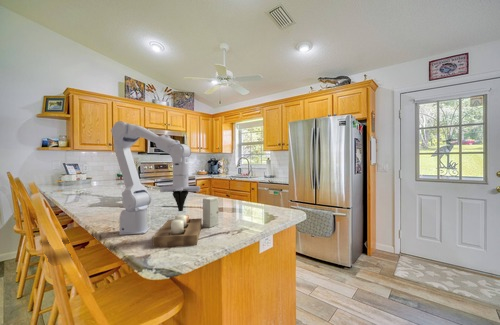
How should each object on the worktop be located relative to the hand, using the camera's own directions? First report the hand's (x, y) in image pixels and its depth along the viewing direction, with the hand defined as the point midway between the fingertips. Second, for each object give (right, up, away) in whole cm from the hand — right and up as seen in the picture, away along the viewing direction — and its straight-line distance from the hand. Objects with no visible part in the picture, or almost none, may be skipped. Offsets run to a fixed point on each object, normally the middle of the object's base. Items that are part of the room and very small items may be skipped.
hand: (180, 210), depth 83 cm
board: (0, -9, 0) cm, 9 cm away
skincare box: (+9, -10, +13) cm, 18 cm away
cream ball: (0, -6, 0) cm, 6 cm away
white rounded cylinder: (+1, -6, -7) cm, 9 cm away
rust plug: (-1, -8, +7) cm, 10 cm away
